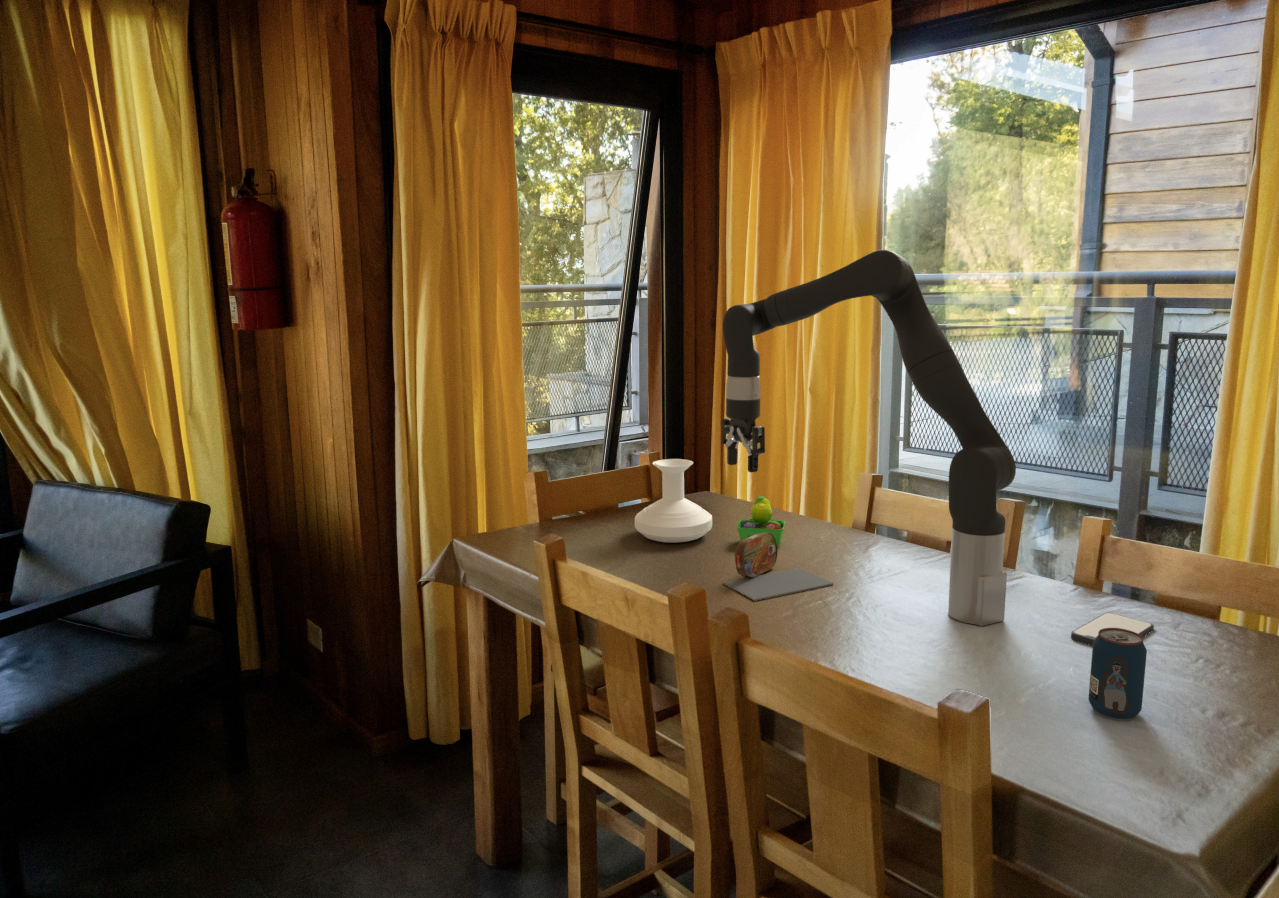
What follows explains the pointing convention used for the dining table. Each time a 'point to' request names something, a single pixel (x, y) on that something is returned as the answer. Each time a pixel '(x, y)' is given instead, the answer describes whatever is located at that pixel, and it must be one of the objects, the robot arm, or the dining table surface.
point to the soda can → (1117, 674)
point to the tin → (756, 555)
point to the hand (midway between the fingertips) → (742, 468)
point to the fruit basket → (761, 522)
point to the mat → (777, 584)
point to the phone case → (1109, 620)
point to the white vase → (673, 509)
